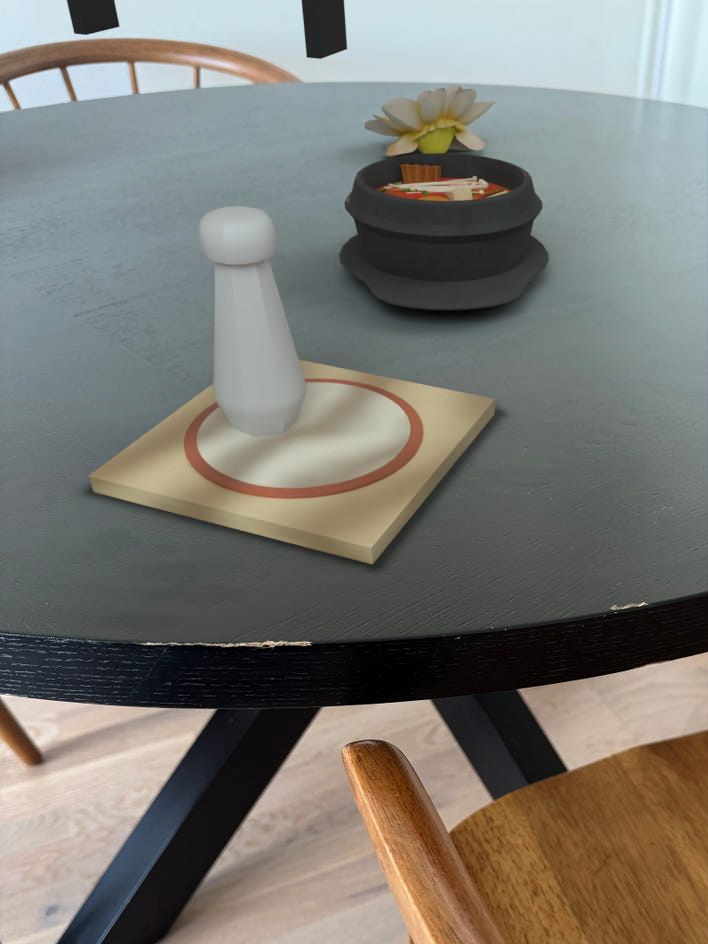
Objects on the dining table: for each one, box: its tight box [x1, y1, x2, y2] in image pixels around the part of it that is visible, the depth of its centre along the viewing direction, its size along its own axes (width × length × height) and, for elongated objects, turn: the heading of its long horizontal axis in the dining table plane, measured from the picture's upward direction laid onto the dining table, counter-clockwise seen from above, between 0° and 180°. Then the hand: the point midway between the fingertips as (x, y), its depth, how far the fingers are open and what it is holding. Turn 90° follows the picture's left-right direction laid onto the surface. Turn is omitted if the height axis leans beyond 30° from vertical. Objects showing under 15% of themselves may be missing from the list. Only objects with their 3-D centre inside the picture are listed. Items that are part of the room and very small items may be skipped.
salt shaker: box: [198, 205, 306, 437], centre depth 58 cm, size 6×6×13 cm
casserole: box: [338, 152, 550, 312], centre depth 83 cm, size 25×19×8 cm
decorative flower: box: [364, 84, 497, 158], centre depth 112 cm, size 15×11×10 cm
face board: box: [88, 359, 496, 565], centre depth 62 cm, size 19×19×2 cm
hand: (208, 42), depth 48 cm, fingers open, 13 cm apart
